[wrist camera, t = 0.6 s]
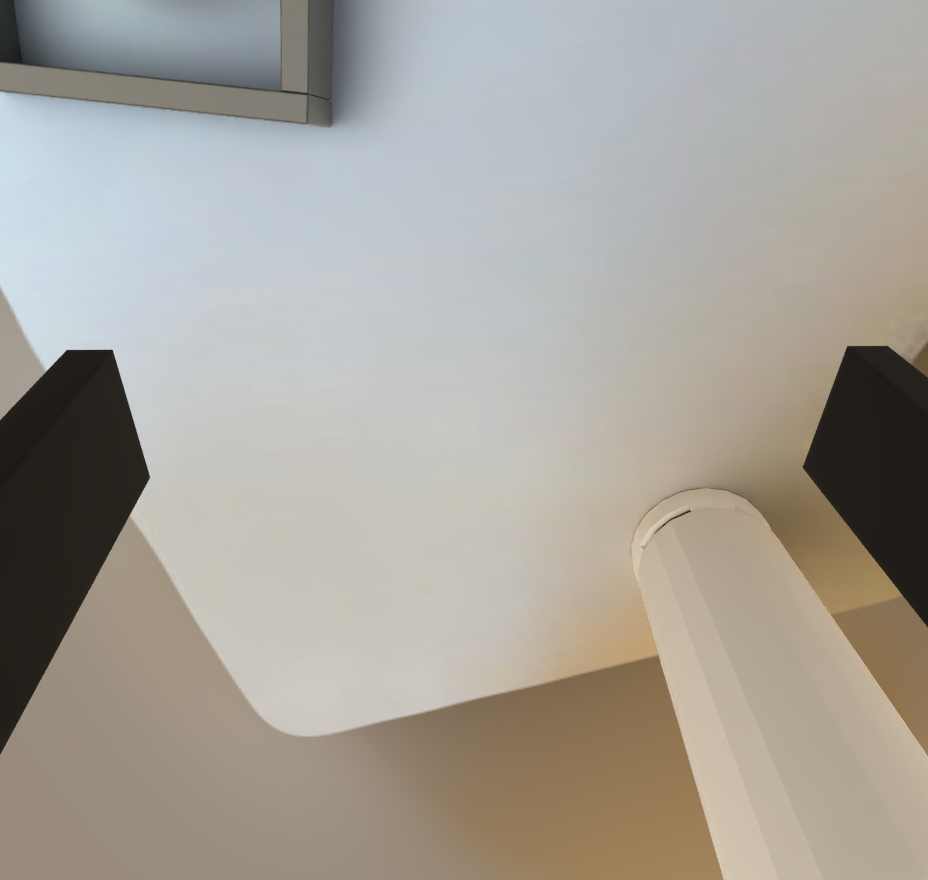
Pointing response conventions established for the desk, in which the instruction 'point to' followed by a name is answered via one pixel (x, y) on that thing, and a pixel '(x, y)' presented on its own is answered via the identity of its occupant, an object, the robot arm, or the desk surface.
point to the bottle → (776, 704)
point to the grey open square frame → (295, 103)
